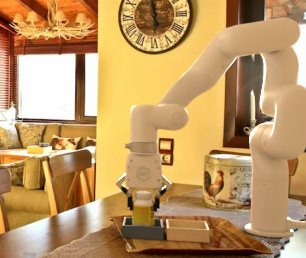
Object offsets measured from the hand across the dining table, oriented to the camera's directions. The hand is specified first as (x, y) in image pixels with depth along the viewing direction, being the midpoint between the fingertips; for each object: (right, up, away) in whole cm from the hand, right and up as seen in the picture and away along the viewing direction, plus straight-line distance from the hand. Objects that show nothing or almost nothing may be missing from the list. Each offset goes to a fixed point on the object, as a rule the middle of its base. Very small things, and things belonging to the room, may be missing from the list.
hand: (143, 209), depth 147 cm
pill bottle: (0, -6, 0) cm, 6 cm away
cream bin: (+12, -7, -3) cm, 14 cm away
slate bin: (0, -7, 0) cm, 7 cm away
